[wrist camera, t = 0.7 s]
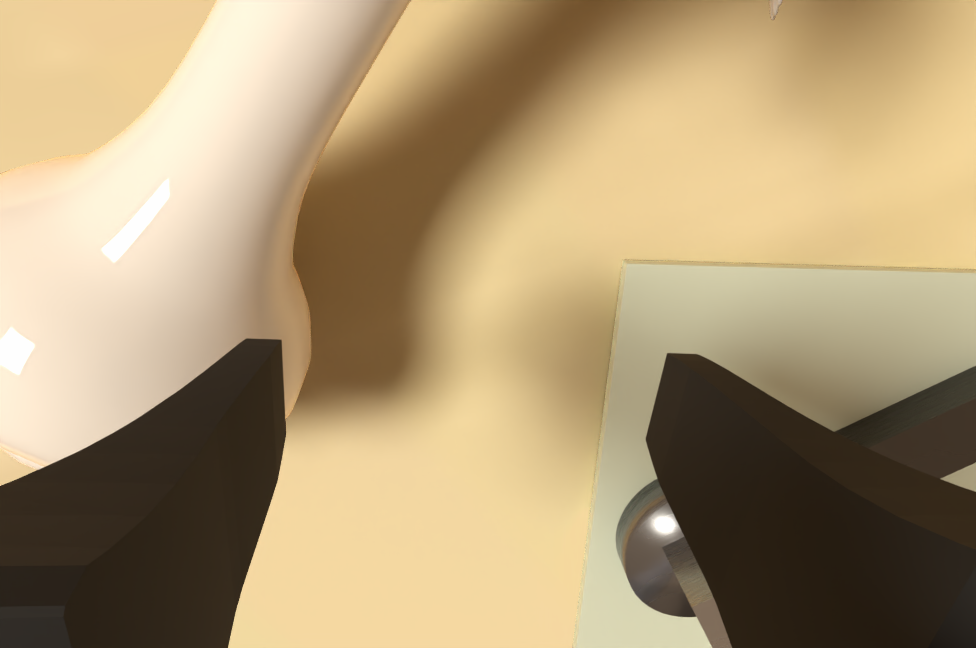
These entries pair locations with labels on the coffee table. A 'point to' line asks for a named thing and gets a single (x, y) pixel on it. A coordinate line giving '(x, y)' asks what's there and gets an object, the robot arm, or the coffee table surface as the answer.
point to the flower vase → (176, 226)
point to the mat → (757, 382)
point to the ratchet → (890, 432)
